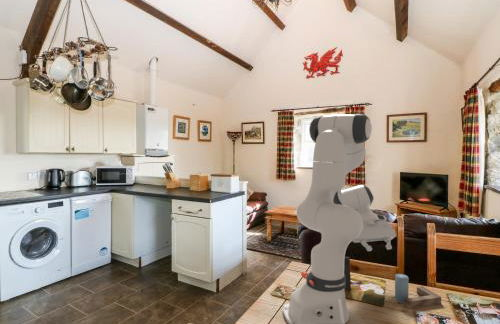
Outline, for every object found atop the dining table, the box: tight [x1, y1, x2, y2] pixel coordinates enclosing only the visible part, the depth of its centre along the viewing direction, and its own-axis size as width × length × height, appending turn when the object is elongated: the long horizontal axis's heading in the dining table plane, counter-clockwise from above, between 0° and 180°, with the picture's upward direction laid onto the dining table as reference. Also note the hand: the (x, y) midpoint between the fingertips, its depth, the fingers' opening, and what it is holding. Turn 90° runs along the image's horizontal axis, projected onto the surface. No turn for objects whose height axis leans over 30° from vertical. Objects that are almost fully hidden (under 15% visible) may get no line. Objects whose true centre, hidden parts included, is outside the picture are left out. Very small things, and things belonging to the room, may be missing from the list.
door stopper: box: [344, 255, 352, 291], centre depth 115 cm, size 9×6×12 cm, turn 167°
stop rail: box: [404, 285, 442, 309], centre depth 102 cm, size 14×8×2 cm, turn 101°
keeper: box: [394, 273, 410, 304], centre depth 102 cm, size 4×4×9 cm
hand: (380, 249), depth 114 cm, fingers open, 8 cm apart
